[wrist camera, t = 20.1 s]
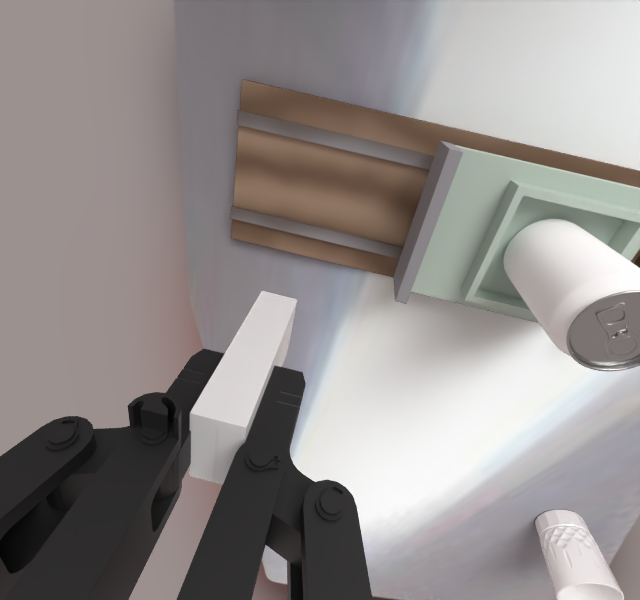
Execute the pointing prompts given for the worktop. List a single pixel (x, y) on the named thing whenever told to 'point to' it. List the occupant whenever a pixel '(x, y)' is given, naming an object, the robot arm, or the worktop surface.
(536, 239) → the can
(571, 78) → the worktop surface
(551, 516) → the white cup
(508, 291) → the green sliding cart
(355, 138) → the track
